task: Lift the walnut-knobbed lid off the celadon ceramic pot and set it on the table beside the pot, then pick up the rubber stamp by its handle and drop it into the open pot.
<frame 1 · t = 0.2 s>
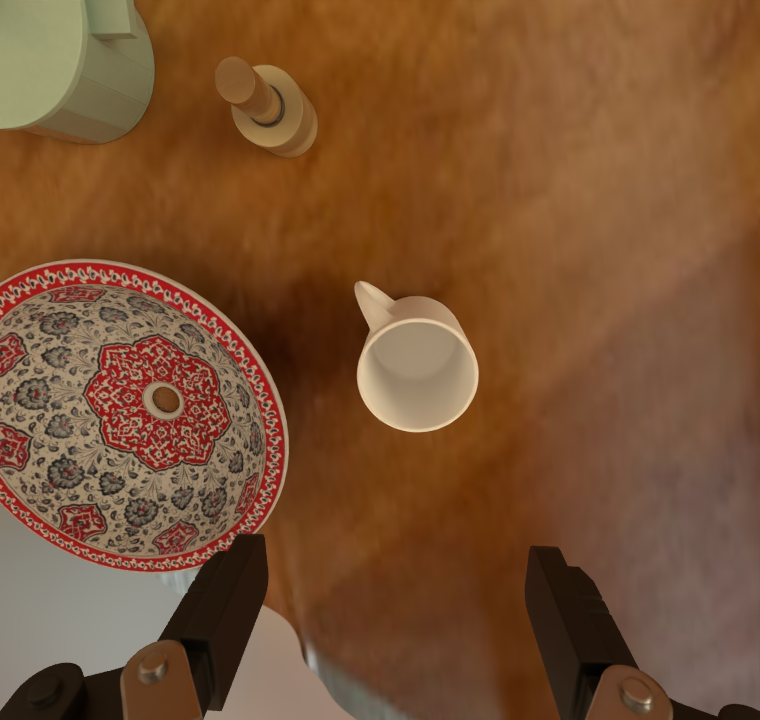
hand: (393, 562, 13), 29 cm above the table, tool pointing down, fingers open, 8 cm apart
ceramic bowl: (168, 398, 45), on the table
rubber stamp: (287, 123, 36), on the table
mug: (404, 325, 41), on the table
pot: (78, 58, 36), on the table
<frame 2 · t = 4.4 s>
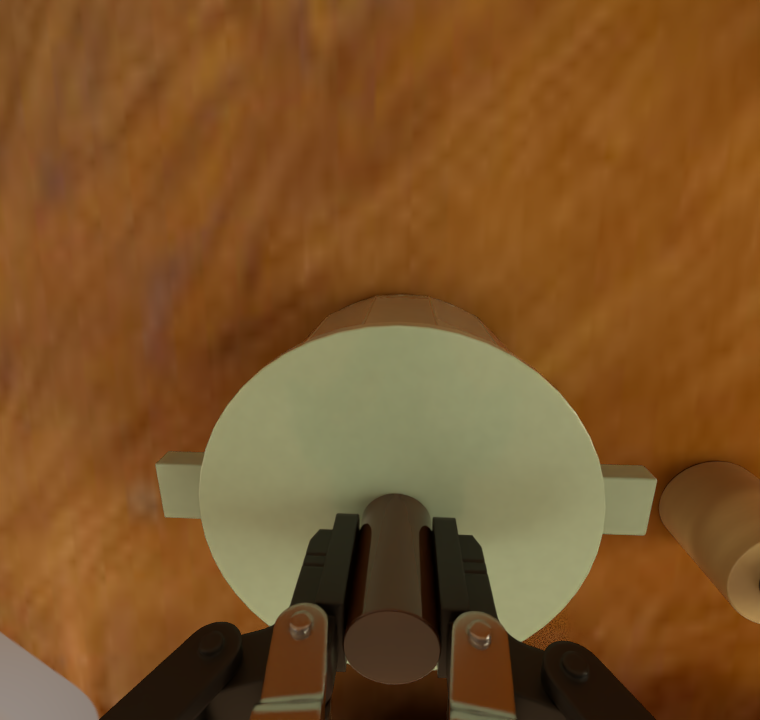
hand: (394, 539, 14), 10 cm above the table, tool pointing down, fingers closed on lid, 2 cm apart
lid: (396, 511, 15), point 9 cm above the table, touching gripper, pot
rubber stamp: (708, 502, 24), on the table
pot: (400, 412, 23), on the table
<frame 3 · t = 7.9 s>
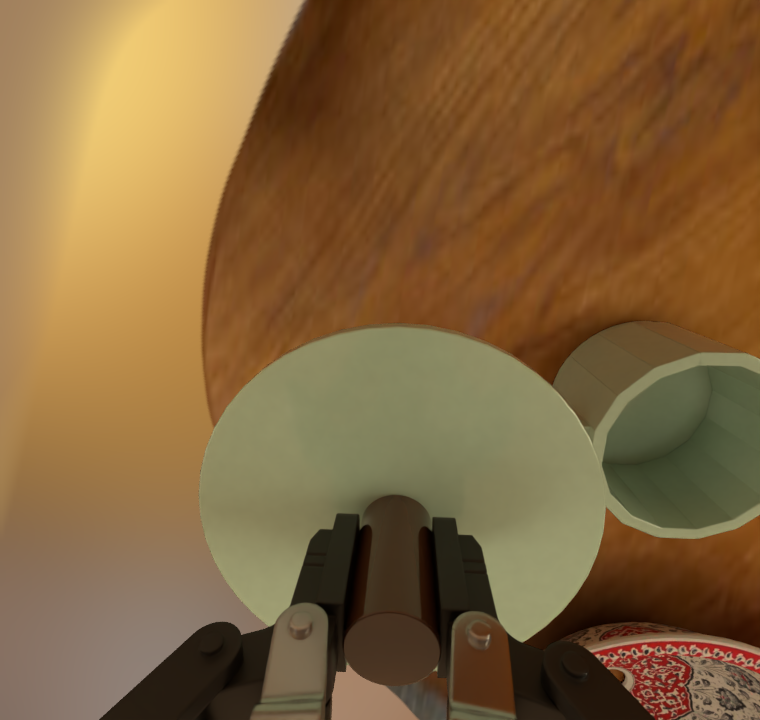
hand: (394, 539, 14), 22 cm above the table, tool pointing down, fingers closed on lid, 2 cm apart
ceramic bowl: (608, 674, 44), on the table
lid: (396, 513, 15), point 20 cm above the table, touching gripper
pot: (631, 398, 35), on the table
when the fingers open (2 cm above the table, at t = 11.6 s): lid stays where it is, point 1 cm above the table.
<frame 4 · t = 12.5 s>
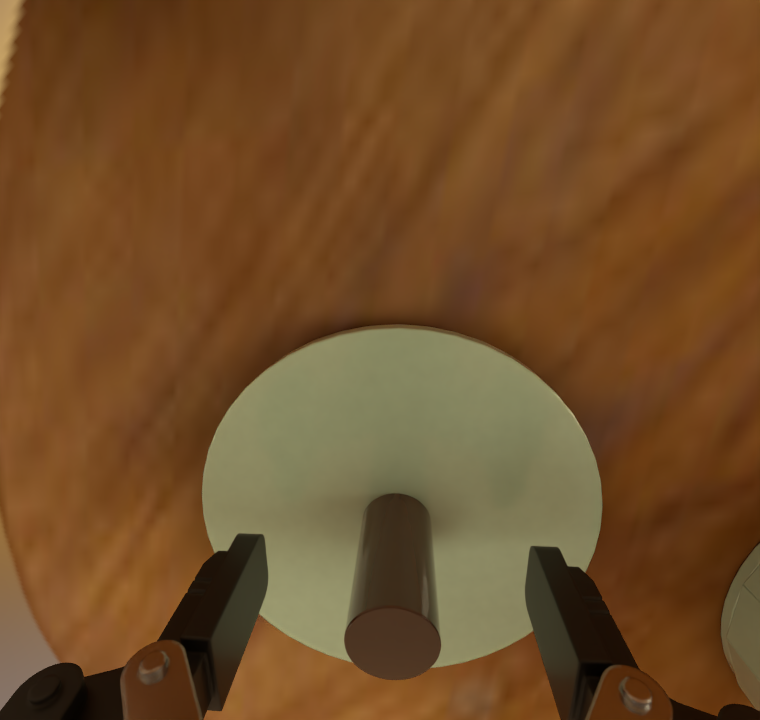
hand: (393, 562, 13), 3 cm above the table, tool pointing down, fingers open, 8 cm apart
lid: (396, 511, 16), point 1 cm above the table
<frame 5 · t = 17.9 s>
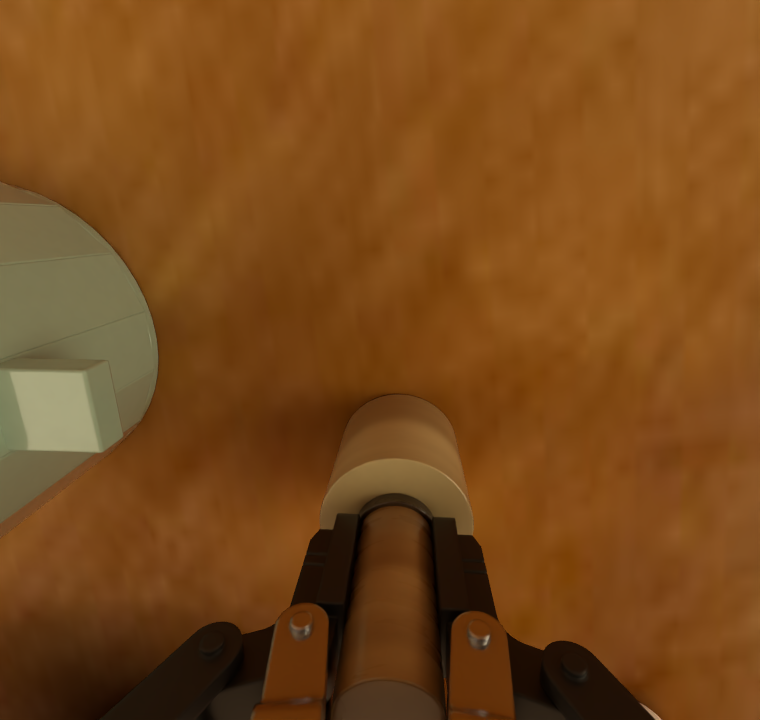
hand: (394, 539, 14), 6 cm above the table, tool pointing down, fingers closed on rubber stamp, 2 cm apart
rubber stamp: (399, 446, 20), on the table, touching gripper
pot: (18, 335, 19), on the table
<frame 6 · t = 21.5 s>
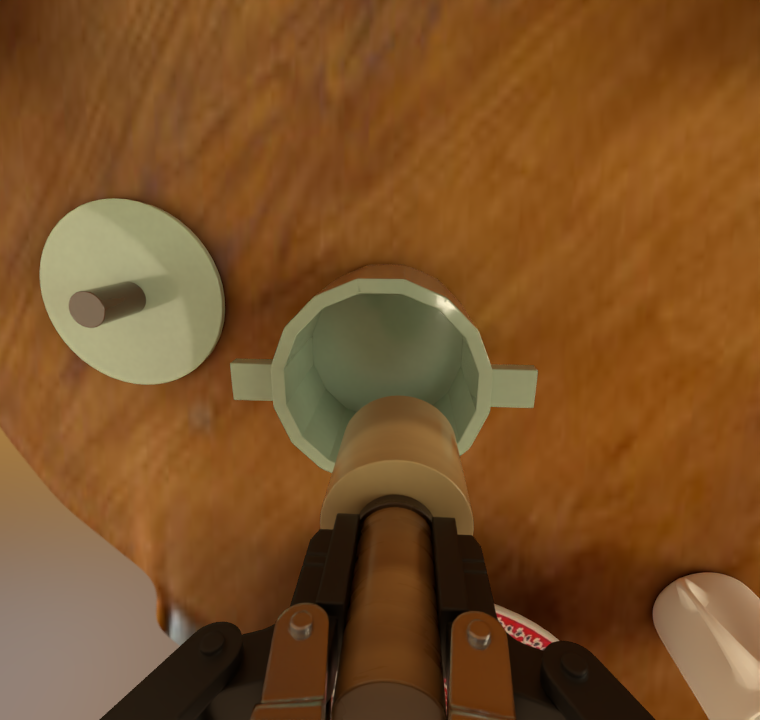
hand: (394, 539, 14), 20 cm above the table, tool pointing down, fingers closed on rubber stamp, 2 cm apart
ceramic bowl: (415, 644, 42), on the table
lid: (135, 296, 33), point 1 cm above the table
rubber stamp: (399, 447, 20), point 14 cm above the table, touching gripper
mug: (688, 592, 39), on the table
pot: (386, 349, 33), on the table
when the fingers open (7 cm above the table, at t = 24.9 s): rubber stamp stays where it is, resting on pot.
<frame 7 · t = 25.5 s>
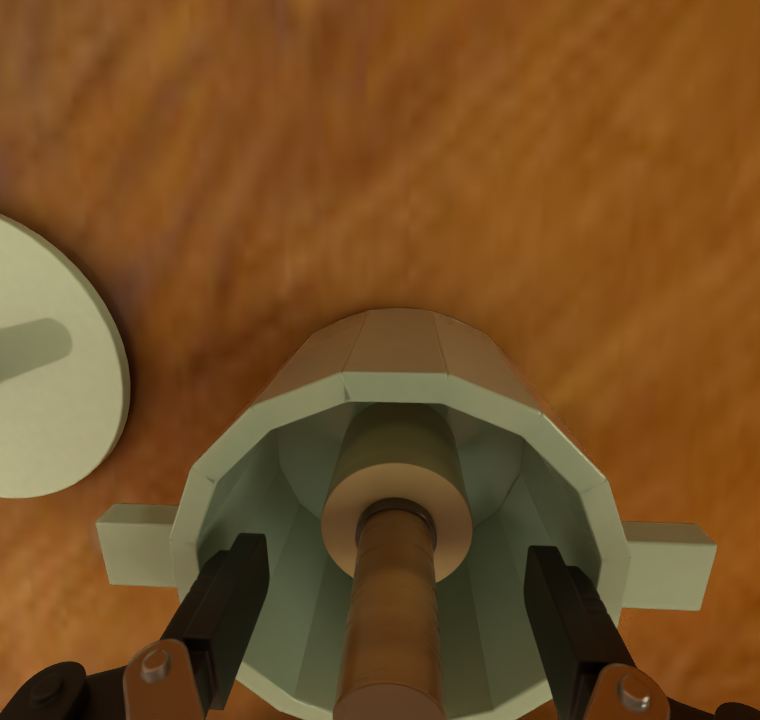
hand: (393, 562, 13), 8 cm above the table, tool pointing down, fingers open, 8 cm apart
rubber stamp: (398, 450, 20), resting on pot
pot: (398, 442, 20), on the table
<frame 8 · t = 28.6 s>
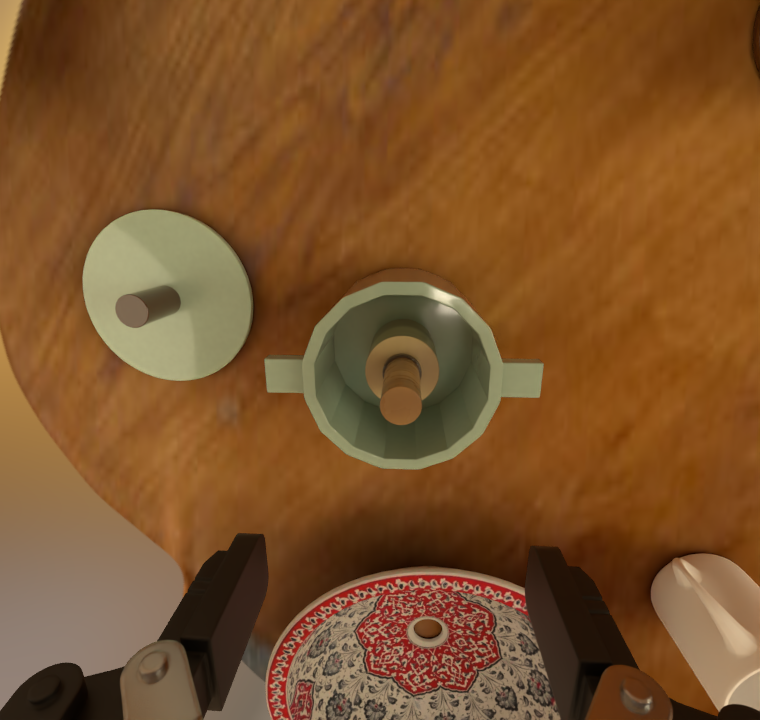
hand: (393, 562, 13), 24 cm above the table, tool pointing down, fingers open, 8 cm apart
ceramic bowl: (427, 624, 45), on the table
lid: (170, 299, 35), point 1 cm above the table
rubber stamp: (402, 349, 36), resting on pot
mug: (684, 573, 41), on the table
pot: (402, 346, 36), on the table
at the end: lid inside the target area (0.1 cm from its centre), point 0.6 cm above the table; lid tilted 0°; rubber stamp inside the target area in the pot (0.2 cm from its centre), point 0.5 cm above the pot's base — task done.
